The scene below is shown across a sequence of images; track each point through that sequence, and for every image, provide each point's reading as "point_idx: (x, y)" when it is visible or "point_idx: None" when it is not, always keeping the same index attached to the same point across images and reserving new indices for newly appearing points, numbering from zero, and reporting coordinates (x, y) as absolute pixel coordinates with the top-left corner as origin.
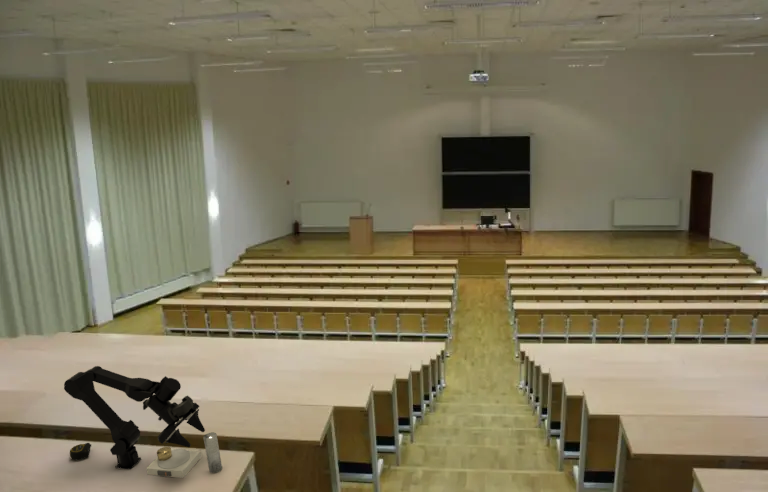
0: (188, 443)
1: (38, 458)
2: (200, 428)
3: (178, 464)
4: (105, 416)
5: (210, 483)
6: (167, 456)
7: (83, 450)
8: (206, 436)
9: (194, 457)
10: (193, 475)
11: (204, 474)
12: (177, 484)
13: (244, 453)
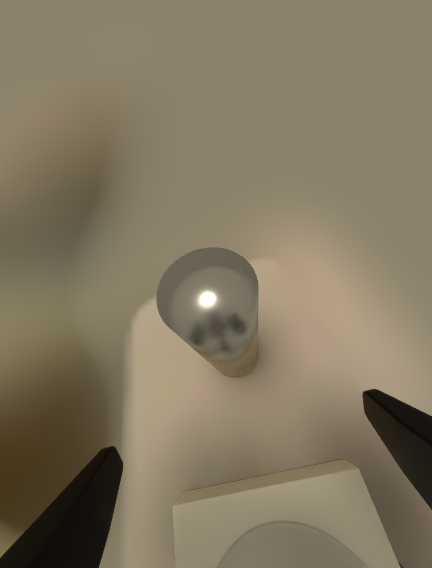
0: (402, 406)
1: None
2: (92, 515)
3: (347, 551)
4: None
5: (301, 312)
6: None
7: None
8: (220, 308)
9: (232, 495)
10: (303, 417)
11: (275, 372)
12: None
13: (135, 320)
